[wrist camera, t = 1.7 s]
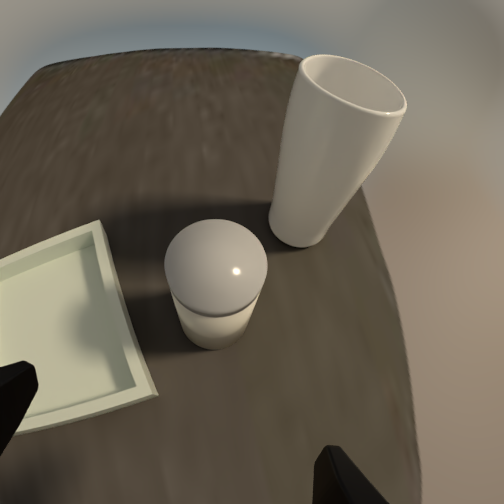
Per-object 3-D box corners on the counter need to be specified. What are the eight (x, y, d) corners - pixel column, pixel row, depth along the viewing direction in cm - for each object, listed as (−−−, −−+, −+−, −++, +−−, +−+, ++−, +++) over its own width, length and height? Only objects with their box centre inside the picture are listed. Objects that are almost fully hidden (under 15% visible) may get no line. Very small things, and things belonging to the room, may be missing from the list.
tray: (10, 436, 15) (-7, 436, 13) (-16, 285, 21) (-30, 273, 18) (158, 395, 19) (152, 393, 17) (107, 235, 25) (99, 219, 23)
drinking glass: (273, 265, 26) (332, 113, 13) (249, 200, 29) (280, 49, 16) (343, 249, 27) (430, 119, 14) (315, 191, 30) (369, 59, 17)
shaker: (195, 360, 21) (186, 327, 13) (170, 299, 23) (152, 237, 15) (258, 334, 23) (285, 287, 15) (230, 277, 25) (241, 207, 17)
